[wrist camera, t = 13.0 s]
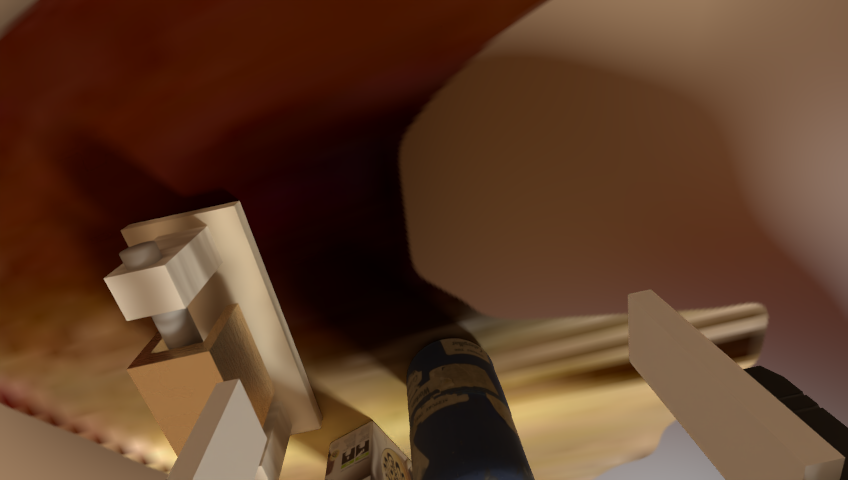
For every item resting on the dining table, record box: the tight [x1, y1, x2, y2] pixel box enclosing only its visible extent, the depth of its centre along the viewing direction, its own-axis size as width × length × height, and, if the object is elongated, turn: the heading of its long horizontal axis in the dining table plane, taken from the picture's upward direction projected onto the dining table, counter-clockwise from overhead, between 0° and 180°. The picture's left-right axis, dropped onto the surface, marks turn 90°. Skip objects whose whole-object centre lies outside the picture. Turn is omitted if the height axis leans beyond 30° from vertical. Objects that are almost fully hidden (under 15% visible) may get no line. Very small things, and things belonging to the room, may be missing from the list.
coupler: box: [127, 303, 275, 457], centre depth 37 cm, size 6×10×7 cm, turn 11°
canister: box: [407, 338, 535, 480], centre depth 40 cm, size 10×10×18 cm
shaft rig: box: [104, 201, 323, 480], centre depth 40 cm, size 10×26×10 cm, turn 11°
